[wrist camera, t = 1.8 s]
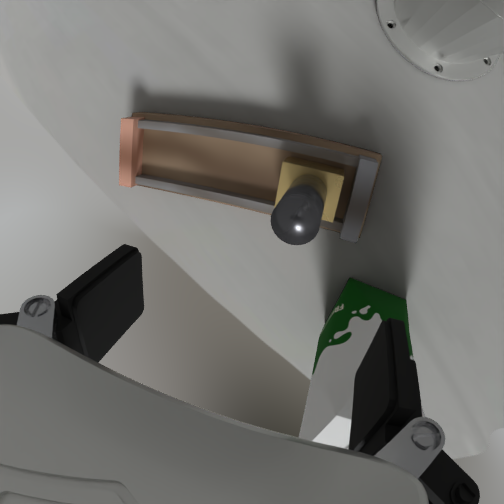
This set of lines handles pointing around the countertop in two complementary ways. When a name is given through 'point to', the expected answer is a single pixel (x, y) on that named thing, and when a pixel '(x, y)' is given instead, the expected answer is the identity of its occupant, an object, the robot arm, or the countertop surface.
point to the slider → (305, 199)
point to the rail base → (239, 163)
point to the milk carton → (345, 359)
